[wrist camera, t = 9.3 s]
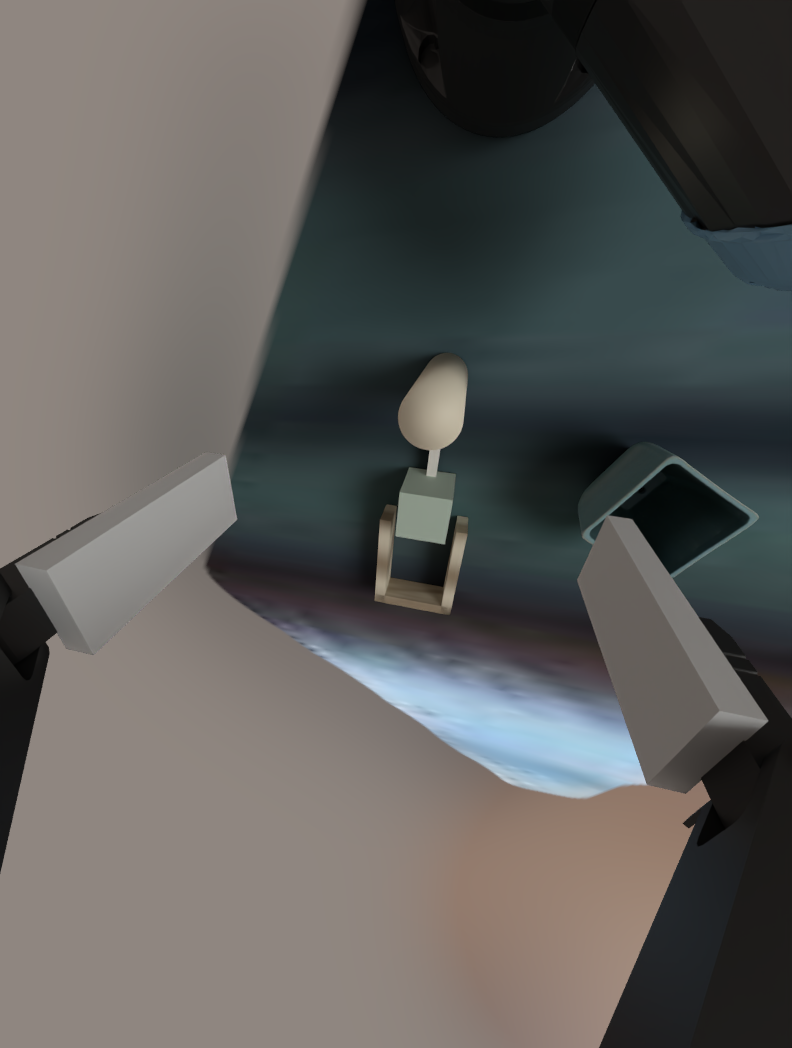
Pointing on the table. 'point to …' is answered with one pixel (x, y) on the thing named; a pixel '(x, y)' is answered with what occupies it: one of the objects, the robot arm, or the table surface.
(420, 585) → the beige u-shaped frame
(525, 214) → the table surface
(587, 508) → the flower pot
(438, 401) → the beige teardrop-shaped paddle
